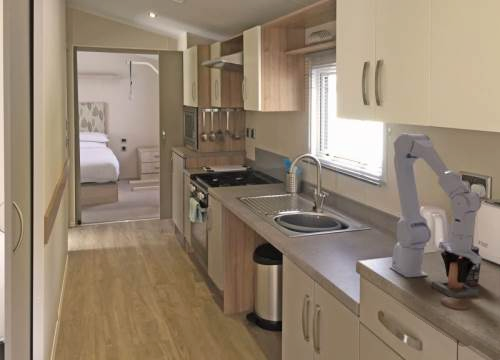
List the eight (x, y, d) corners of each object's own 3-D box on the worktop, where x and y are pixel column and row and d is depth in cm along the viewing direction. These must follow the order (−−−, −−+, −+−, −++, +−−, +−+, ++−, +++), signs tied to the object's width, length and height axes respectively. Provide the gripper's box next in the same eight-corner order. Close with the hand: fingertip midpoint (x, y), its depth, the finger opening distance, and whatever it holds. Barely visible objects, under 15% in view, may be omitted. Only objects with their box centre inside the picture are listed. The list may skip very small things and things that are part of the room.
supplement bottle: (460, 277, 158) (465, 242, 156) (480, 282, 154) (485, 247, 152) (454, 282, 153) (458, 246, 151) (474, 287, 150) (479, 251, 148)
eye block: (431, 286, 148) (431, 281, 148) (455, 284, 152) (456, 279, 151) (452, 298, 140) (453, 293, 140) (478, 295, 143) (478, 290, 143)
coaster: (435, 300, 138) (435, 298, 138) (455, 298, 140) (455, 296, 140) (453, 310, 132) (453, 309, 132) (474, 308, 134) (474, 306, 134)
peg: (443, 286, 147) (447, 262, 146) (454, 285, 148) (458, 261, 147) (453, 292, 143) (457, 267, 142) (464, 291, 145) (468, 266, 143)
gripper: (433, 227, 148) (427, 271, 151) (469, 242, 135) (462, 289, 137) (452, 226, 151) (446, 270, 153) (489, 240, 137) (482, 287, 140)
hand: (455, 279), depth 145 cm, fingers closed on peg, 4 cm apart
